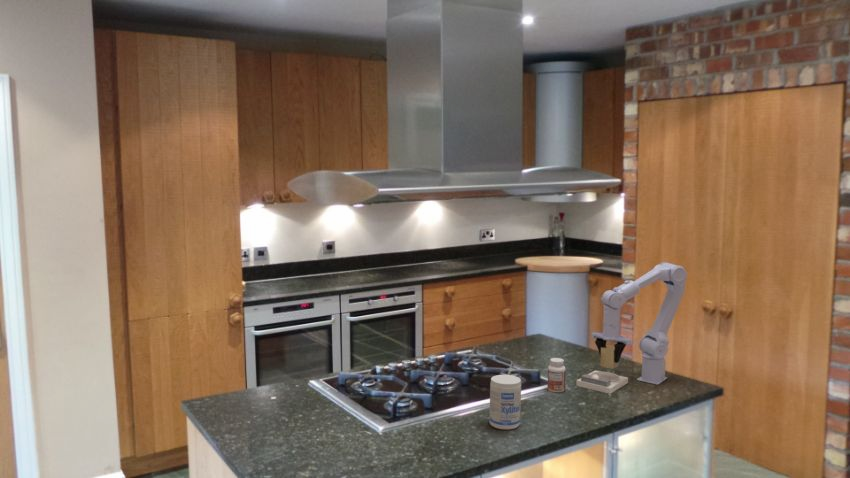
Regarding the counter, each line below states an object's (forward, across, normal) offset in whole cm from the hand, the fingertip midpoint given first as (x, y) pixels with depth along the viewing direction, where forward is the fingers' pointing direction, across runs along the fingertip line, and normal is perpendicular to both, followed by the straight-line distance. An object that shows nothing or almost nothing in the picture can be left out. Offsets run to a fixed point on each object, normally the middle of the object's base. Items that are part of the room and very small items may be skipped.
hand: (609, 360), depth 254 cm
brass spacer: (+2, 0, 0) cm, 2 cm away
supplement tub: (+9, -9, -55) cm, 57 cm away
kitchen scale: (+9, -2, -2) cm, 9 cm away
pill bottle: (+9, -12, -17) cm, 23 cm away
